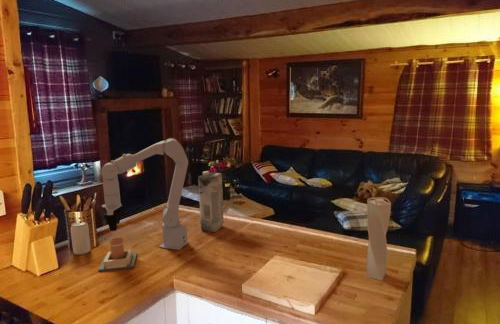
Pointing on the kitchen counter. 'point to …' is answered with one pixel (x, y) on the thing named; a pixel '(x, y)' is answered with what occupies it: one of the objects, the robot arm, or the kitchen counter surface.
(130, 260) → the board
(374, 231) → the skyscraper
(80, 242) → the can
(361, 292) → the kitchen counter surface
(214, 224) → the juice carton
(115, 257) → the tube
